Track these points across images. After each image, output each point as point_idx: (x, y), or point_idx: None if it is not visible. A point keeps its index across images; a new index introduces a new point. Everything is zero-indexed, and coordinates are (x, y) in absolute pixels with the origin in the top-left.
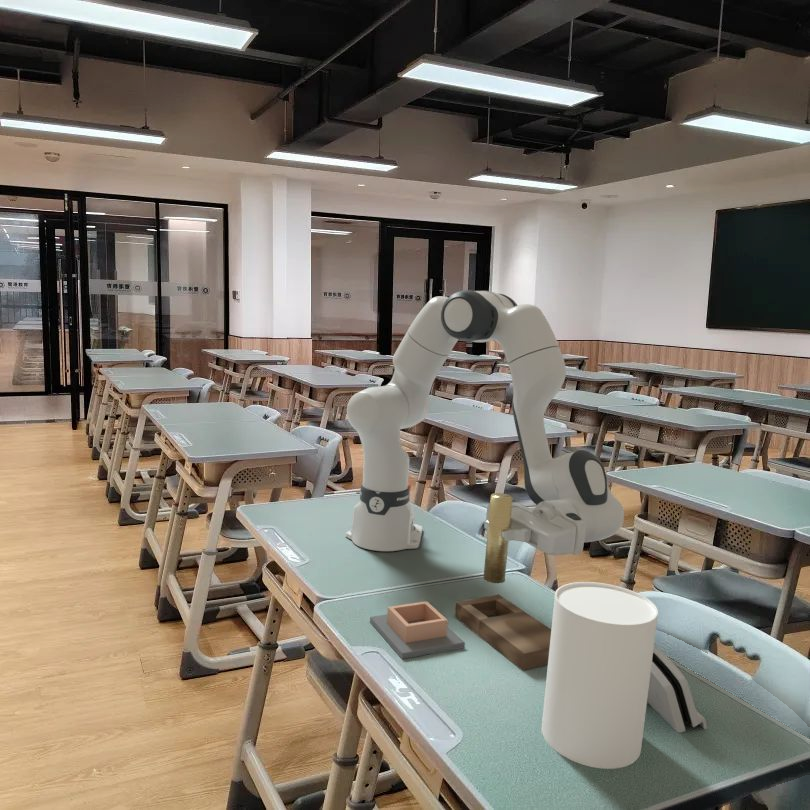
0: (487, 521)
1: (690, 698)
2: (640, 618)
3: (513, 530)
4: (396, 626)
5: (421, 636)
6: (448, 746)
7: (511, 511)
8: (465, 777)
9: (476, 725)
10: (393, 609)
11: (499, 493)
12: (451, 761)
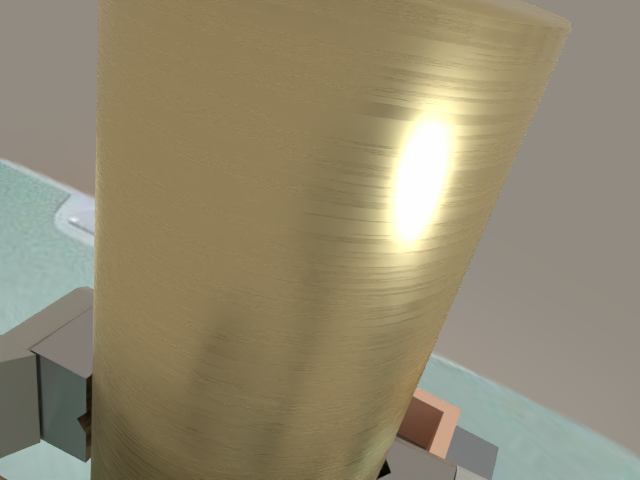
0: (445, 463)
1: None
2: None
3: (14, 338)
4: None
5: None
6: (71, 203)
7: (98, 234)
8: (26, 173)
9: (34, 245)
10: (436, 404)
11: (515, 14)
12: (56, 186)
